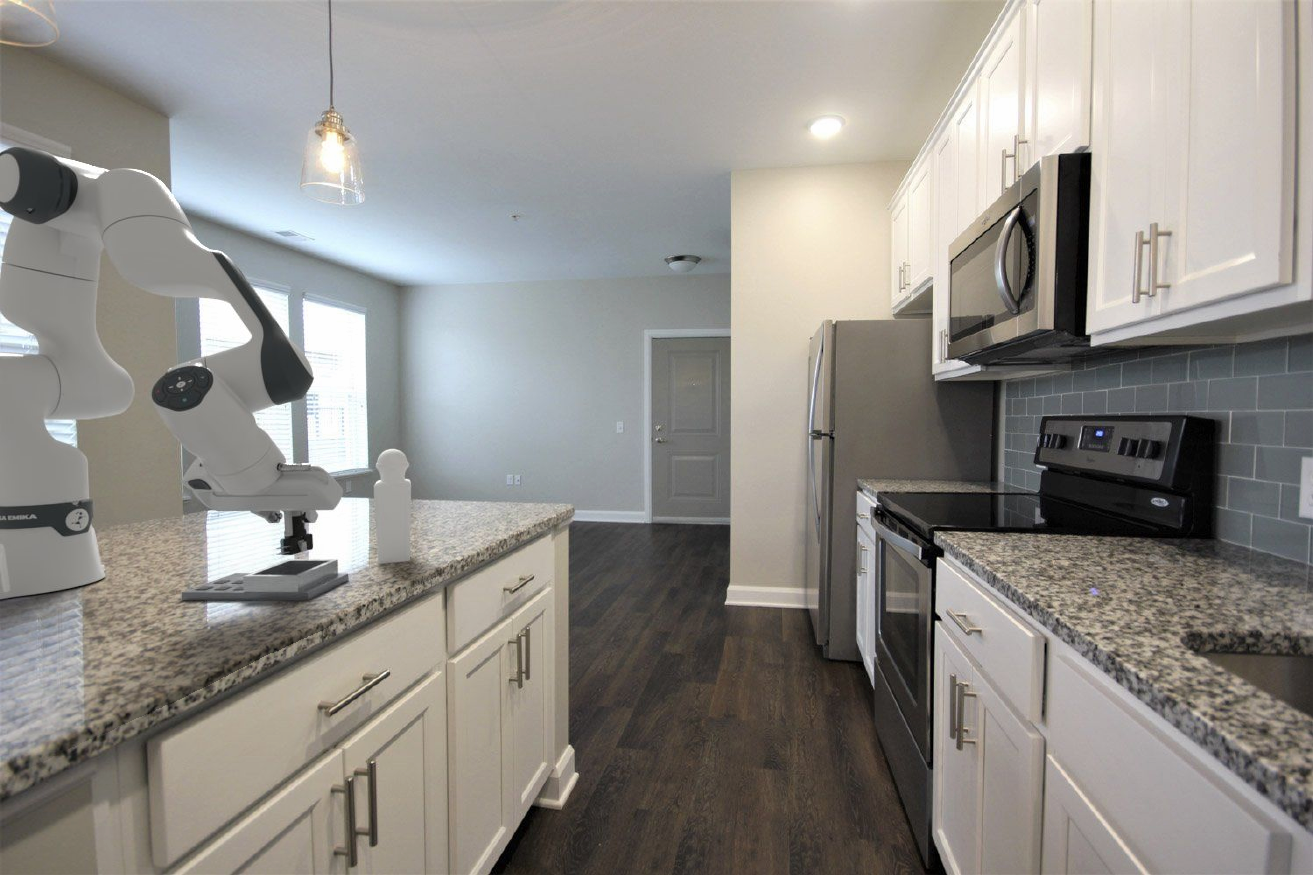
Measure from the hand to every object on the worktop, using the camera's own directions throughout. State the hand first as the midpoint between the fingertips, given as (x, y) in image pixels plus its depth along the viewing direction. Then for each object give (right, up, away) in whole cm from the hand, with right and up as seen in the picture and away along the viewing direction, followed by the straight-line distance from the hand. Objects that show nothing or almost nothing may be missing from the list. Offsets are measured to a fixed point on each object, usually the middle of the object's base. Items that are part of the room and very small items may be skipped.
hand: (294, 519), depth 95 cm
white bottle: (+8, -11, +20) cm, 24 cm away
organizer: (-4, -11, 0) cm, 12 cm away
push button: (0, -6, 0) cm, 6 cm away
